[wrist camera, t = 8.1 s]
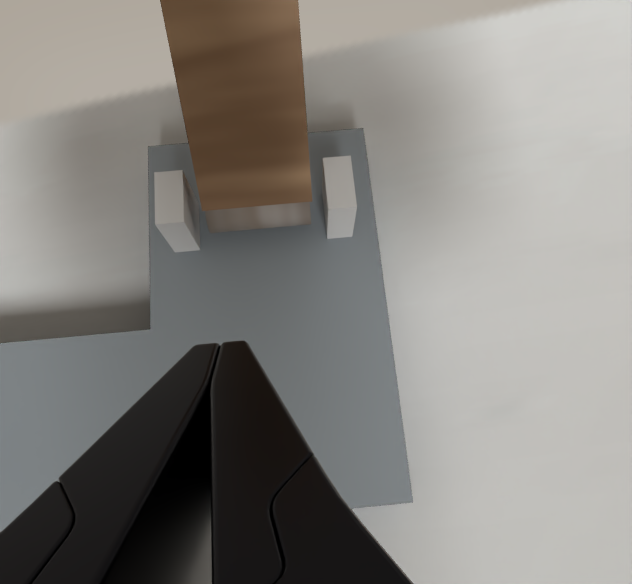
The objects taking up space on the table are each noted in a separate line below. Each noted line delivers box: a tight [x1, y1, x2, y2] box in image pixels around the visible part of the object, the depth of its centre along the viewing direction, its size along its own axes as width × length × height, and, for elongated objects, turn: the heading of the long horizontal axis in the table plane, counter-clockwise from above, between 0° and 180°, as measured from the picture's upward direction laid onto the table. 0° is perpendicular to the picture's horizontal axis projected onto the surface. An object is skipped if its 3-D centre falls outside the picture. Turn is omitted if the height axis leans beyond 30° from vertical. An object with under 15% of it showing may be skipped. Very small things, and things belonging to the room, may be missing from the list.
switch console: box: [0, 128, 413, 532], centre depth 21 cm, size 15×23×5 cm, turn 95°
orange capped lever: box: [160, 0, 312, 233], centre depth 18 cm, size 2×4×12 cm
